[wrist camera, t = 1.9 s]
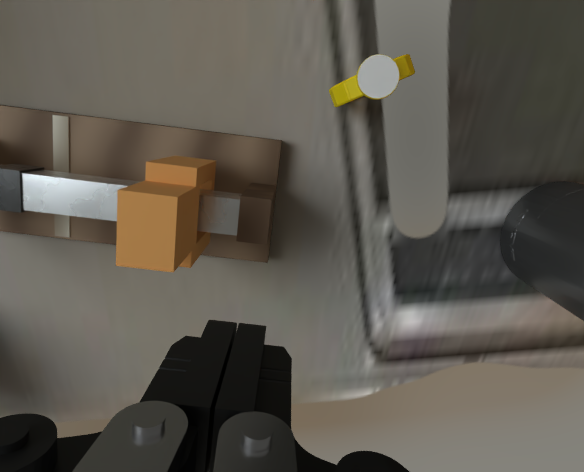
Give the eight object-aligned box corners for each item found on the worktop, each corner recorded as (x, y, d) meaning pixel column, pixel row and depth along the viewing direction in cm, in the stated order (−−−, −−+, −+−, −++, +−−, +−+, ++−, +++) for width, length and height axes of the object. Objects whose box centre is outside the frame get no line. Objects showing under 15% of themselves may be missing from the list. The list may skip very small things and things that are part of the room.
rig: (281, 140, 34) (276, 144, 24) (268, 257, 36) (258, 306, 26) (-17, 102, 33) (-154, 90, 23) (-10, 224, 36) (-131, 261, 26)
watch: (337, 116, 34) (340, 116, 28) (324, 83, 33) (325, 76, 27) (409, 86, 33) (427, 79, 27) (397, 50, 32) (413, 36, 26)
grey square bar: (245, 191, 29) (240, 197, 27) (241, 229, 30) (236, 238, 27) (-44, 156, 29) (-77, 159, 26) (-41, 195, 29) (-74, 201, 27)
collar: (216, 160, 30) (178, 175, 21) (210, 241, 32) (172, 291, 22) (175, 155, 30) (117, 167, 21) (170, 237, 32) (115, 285, 22)
